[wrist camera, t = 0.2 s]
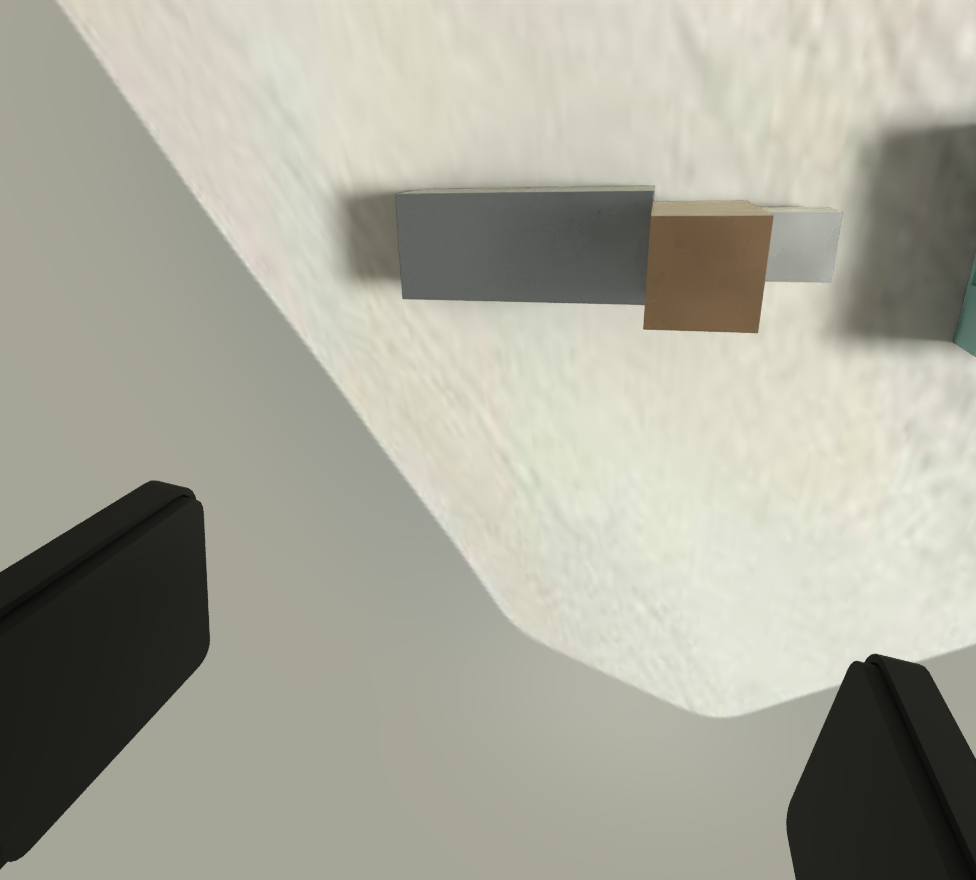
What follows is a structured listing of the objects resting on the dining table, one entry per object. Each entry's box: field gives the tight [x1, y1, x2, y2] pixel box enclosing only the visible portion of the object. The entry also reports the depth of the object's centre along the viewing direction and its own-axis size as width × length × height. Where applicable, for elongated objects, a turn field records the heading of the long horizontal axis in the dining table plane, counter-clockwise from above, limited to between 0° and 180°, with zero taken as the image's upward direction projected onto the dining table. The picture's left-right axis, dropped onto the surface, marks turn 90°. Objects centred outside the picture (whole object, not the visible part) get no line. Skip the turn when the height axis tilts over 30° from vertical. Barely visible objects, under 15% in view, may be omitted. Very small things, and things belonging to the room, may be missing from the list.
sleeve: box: [395, 186, 655, 305], centre depth 34 cm, size 12×5×5 cm, turn 91°
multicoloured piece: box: [643, 201, 843, 333], centre depth 29 cm, size 19×4×11 cm, turn 91°
